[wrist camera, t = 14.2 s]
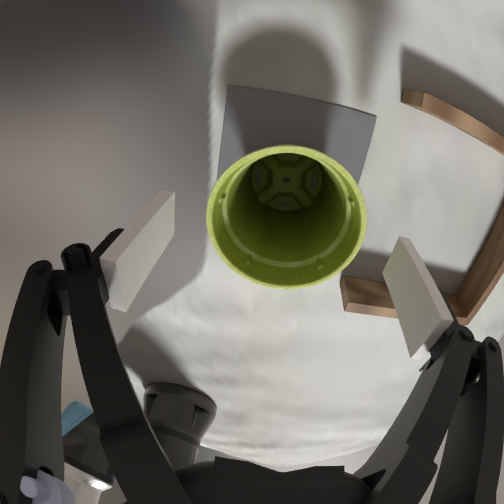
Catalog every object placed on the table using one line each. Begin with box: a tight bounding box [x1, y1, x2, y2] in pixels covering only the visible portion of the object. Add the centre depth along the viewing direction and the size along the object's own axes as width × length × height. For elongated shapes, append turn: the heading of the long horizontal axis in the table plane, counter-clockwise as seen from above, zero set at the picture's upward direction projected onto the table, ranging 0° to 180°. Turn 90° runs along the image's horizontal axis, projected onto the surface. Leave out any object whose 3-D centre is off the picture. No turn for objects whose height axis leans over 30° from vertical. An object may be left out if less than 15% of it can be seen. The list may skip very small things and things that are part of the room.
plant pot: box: [206, 144, 367, 289], centre depth 19 cm, size 9×9×9 cm
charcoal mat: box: [217, 86, 377, 206], centre depth 23 cm, size 12×14×1 cm
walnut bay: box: [340, 89, 504, 325], centre depth 21 cm, size 17×20×4 cm
